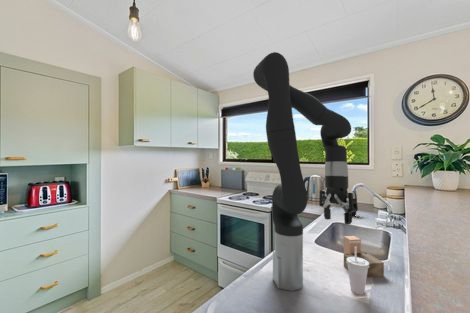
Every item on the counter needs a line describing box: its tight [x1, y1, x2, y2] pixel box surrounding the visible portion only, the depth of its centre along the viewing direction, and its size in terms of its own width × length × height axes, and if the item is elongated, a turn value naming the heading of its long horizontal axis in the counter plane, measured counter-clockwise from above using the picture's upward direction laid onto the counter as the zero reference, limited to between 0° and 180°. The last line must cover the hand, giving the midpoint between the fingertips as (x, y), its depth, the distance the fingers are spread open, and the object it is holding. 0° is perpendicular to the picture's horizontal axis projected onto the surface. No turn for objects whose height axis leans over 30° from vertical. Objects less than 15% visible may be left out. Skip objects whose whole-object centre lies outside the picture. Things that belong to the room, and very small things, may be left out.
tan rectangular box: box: [343, 235, 362, 255], centre depth 88 cm, size 5×4×10 cm
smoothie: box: [346, 246, 369, 295], centre depth 70 cm, size 6×6×14 cm
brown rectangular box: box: [343, 252, 385, 278], centre depth 82 cm, size 10×8×5 cm
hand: (337, 221), depth 77 cm, fingers open, 8 cm apart
